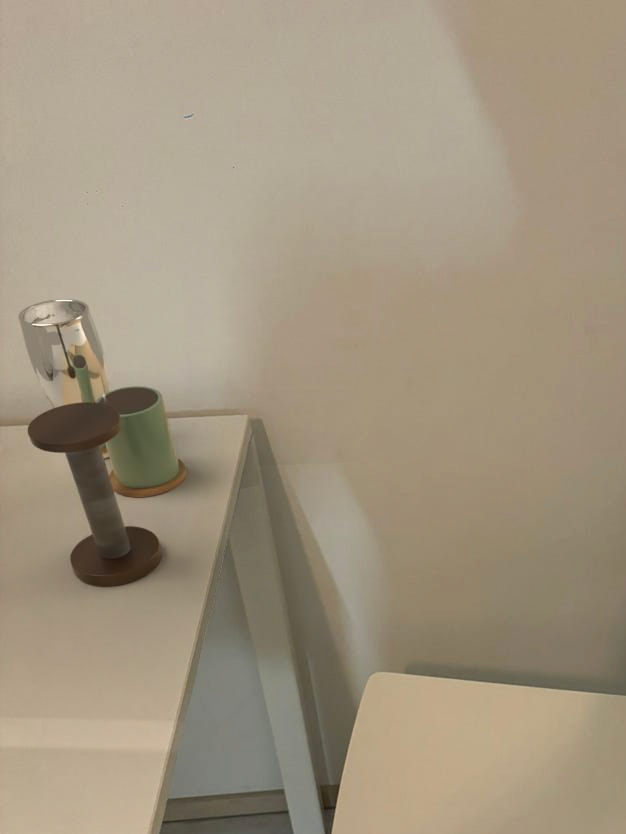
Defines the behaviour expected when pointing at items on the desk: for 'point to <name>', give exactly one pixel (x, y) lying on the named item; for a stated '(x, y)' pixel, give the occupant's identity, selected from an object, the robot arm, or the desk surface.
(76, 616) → the desk surface
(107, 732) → the desk surface
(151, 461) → the cup
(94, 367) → the beer glass
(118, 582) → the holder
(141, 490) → the coaster
